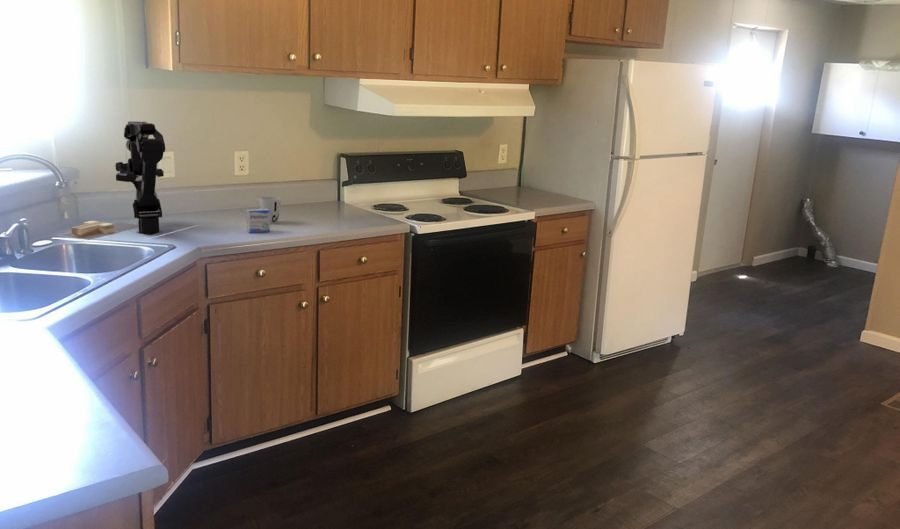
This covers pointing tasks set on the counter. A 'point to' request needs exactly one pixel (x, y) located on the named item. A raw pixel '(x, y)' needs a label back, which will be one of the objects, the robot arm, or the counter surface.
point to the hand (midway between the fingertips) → (141, 197)
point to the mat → (117, 228)
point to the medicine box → (258, 220)
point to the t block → (92, 228)
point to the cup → (271, 207)
